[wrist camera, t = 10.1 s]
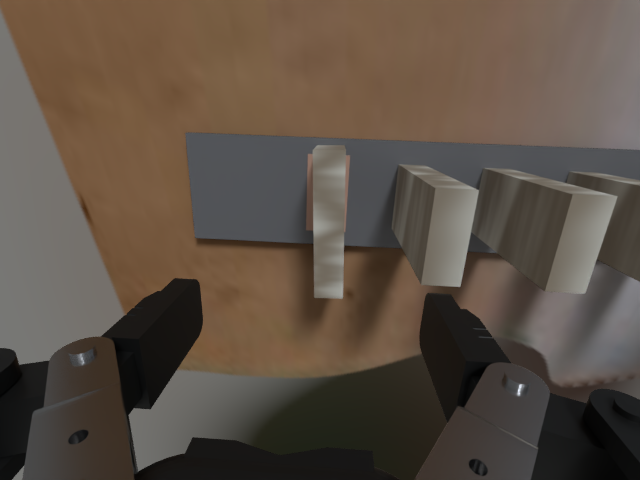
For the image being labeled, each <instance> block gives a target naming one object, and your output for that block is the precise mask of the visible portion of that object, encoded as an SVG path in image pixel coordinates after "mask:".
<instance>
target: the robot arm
mask: <svg viewBox="0 0 640 480" xmlns="http://www.w3.org/2000/svg"><path fill="white" fill-rule="evenodd" d="M202 324H203V315H202V304H201V293H200V285H199V282H198V280H196V279H179V278H175V279H173V280H172V281H171V282H170V283H169V284H168V285H167V286H166V287H165V288H164V289H163V290H161V291H157V292H155V293H153V294H151V295H149V296H147V297H145V298H144V299H143V300H141V301H140V302H139V303H138V304H137V305H136V306H135V308H132V309H131V310H130V311H129V312H128V313H127V315H125V316H123V317H122V318H121V319H120V320H119V321H118V322H117V323H116V324H114V325H113V326H112V327H111V328H110V329H109V330H108V331H107V332H106V333H104V334H103V335H102V336H101V337H90V338H85V339H81V340H78V341H75V342H72V343H70V344H68V345H66V346H64V347H62V348H61V349H60V350H58V351H57V352H55V353H54V354H53V356H52V357H51V358H50V360H49V361H43V362H36V363H29V364H22V365H19V363H18V360H17V357H16V353H15V352H14V351H13V350H11V349H6V348H0V480H12V479H13V478H14V476H15V475H16V474H17V473H18V472H19V470H20V469H21V468H22V467H23V466H24V472H23V479H22V480H400V479H398V478H396V477H395V476H393V475H391V474H389V473H387V472H385V471H383V470H380V469H378V468H375V467H374V461H373V452H372V451H367V450H355V449H341V448H321V449H316V450H310V451H304V452H298V453H292V454H286V455H277V454H274V453H271V452H268V451H265V450H262V449H259V448H256V447H253V446H250V445H247V444H245V443H242V442H239V441H235V440H221V439H208V438H194V437H193V438H192V440H191V442H190V444H189V446H188V449H187V451H186V453H185V454H180V455H176V456H172V457H169V458H166V459H163V460H161V461H158V462H156V463H154V464H152V465H150V466H148V467H146V468H144V469H142V470H140V471H139V472H138V468H137V463H136V457H135V451H134V446H133V439H132V433H131V427H130V421H129V416H128V415H129V414H130V412H131V411H132V410H133V408H141V409H151V408H152V406H153V405H154V403H155V402H156V400H157V398H158V397H159V396H160V394H161V393H162V391H163V389H164V388H165V387H166V385H167V384H168V382H169V381H170V379H171V377H172V376H173V374H174V373H175V371H176V370H177V368H178V367H179V365H180V364H181V362H182V361H183V359H184V358H185V356H186V355H187V353H188V352H189V350H190V349H191V347H192V346H193V344H194V343H195V341H196V340H197V338H198V337H199V335H200V333H201V329H202ZM420 348H421V352H422V354H423V357H424V360H425V363H426V365H427V368H428V371H429V374H430V376H431V379H432V382H433V385H434V387H435V390H436V393H437V396H438V398H439V401H440V404H441V407H442V409H443V412H444V414H445V417H446V420H447V425H446V427H445V429H444V430H443V432H442V434H441V435H440V437H439V439H438V441H437V442H436V444H435V446H434V448H433V449H432V451H431V453H430V454H429V456H428V458H427V460H426V461H425V463H424V465H423V466H422V468H421V470H420V471H419V473H418V475H417V476H416V478H415V480H640V400H639V399H637V398H634V397H632V396H630V395H627V394H625V393H622V392H619V391H615V390H609V389H598V390H594V391H593V392H591V394H590V396H589V399H588V402H587V403H583V402H579V401H576V400H572V399H568V398H565V397H561V396H557V395H555V394H552V393H550V392H549V388H548V387H547V385H546V384H545V382H543V380H542V379H541V378H539V377H538V376H537V375H535V374H534V373H532V372H531V371H529V370H527V369H525V368H523V367H520V366H518V365H515V364H512V363H511V362H510V361H509V359H508V358H507V357H506V355H505V354H504V352H503V351H502V350H501V348H500V347H499V345H498V344H497V343H496V341H495V340H494V339H492V336H491V334H490V333H489V332H488V330H486V327H485V326H484V325H483V323H482V322H481V321H480V319H479V318H478V317H476V316H475V315H474V314H472V313H471V312H469V311H468V310H467V309H460V308H459V306H458V305H457V303H456V302H455V300H454V299H453V297H452V296H451V295H450V294H437V293H427V295H426V297H425V302H424V309H423V315H422V321H421V328H420Z"/></svg>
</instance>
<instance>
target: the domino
mask: <svg viewBox="0 0 640 480" xmlns="http://www.w3.org/2000/svg"><path fill="white" fill-rule="evenodd" d="M345 172H346V149H345V146H344V145H317V146H316V147H315V148H314V149H313V233H314V298H343V269H344V220H345Z"/></svg>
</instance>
